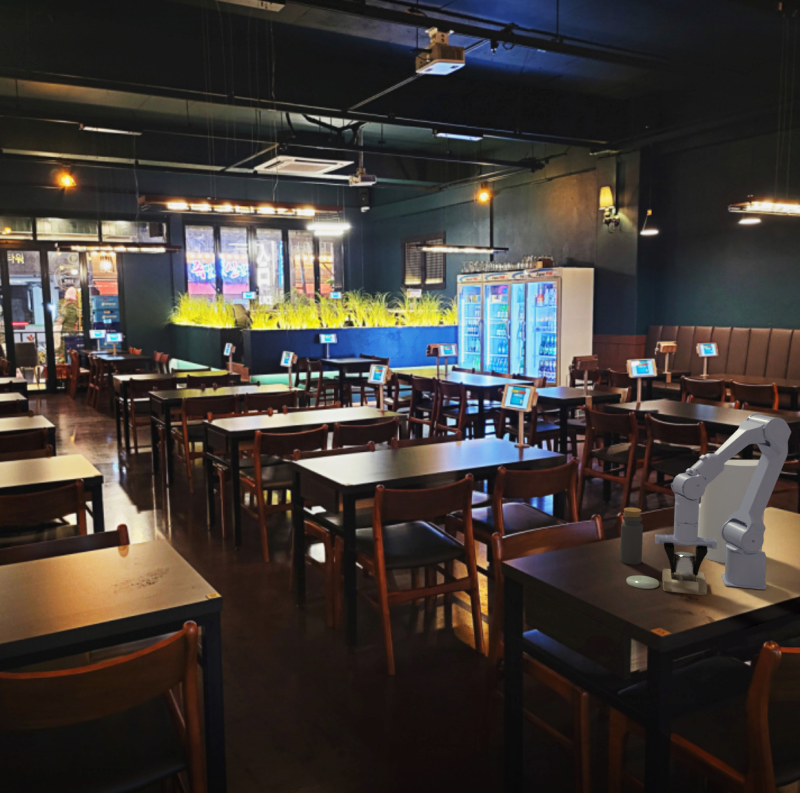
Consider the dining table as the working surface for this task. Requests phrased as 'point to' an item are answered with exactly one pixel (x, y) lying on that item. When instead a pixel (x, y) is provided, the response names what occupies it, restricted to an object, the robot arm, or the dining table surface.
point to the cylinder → (723, 503)
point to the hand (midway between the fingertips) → (684, 573)
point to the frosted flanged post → (684, 566)
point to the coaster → (642, 582)
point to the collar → (684, 583)
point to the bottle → (631, 537)
